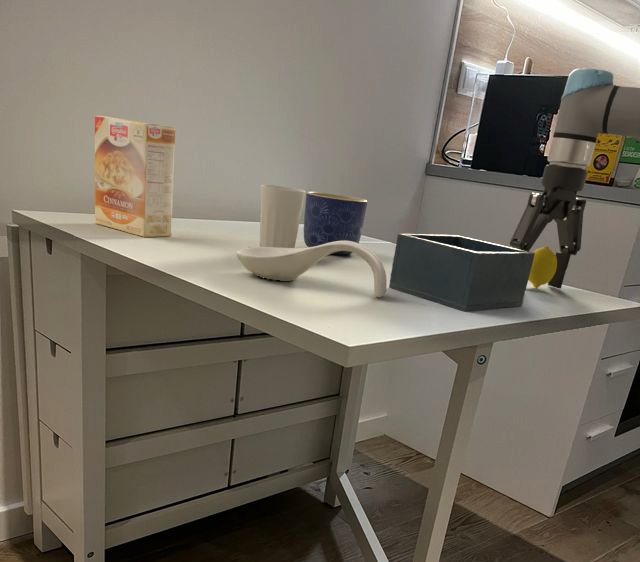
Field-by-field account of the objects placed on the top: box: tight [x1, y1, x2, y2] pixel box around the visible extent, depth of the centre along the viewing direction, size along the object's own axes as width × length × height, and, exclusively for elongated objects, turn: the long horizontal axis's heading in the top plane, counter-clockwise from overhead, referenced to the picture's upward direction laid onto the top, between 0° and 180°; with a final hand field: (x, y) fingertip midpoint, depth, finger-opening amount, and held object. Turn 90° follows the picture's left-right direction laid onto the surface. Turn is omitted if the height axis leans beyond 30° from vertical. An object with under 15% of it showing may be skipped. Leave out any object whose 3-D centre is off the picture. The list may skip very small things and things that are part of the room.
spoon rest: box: [235, 241, 388, 298], centre depth 101 cm, size 24×12×7 cm, turn 75°
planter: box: [303, 191, 368, 256], centre depth 135 cm, size 12×12×11 cm
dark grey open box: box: [388, 233, 535, 312], centre depth 107 cm, size 16×16×9 cm
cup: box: [259, 184, 306, 248], centre depth 120 cm, size 8×8×12 cm
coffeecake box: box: [94, 115, 177, 238], centre depth 125 cm, size 15×7×20 cm, turn 53°
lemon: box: [528, 245, 557, 289], centre depth 127 cm, size 6×6×8 cm
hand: (535, 286), depth 129 cm, fingers open, 11 cm apart
